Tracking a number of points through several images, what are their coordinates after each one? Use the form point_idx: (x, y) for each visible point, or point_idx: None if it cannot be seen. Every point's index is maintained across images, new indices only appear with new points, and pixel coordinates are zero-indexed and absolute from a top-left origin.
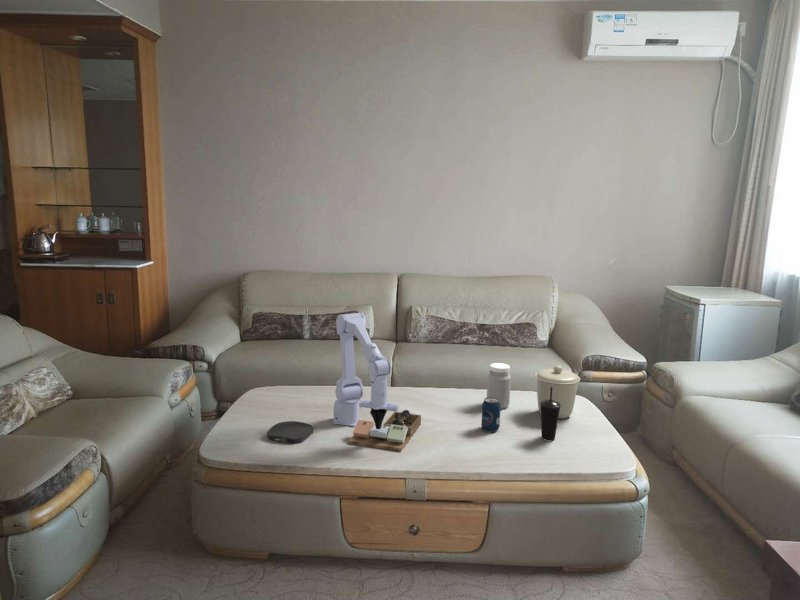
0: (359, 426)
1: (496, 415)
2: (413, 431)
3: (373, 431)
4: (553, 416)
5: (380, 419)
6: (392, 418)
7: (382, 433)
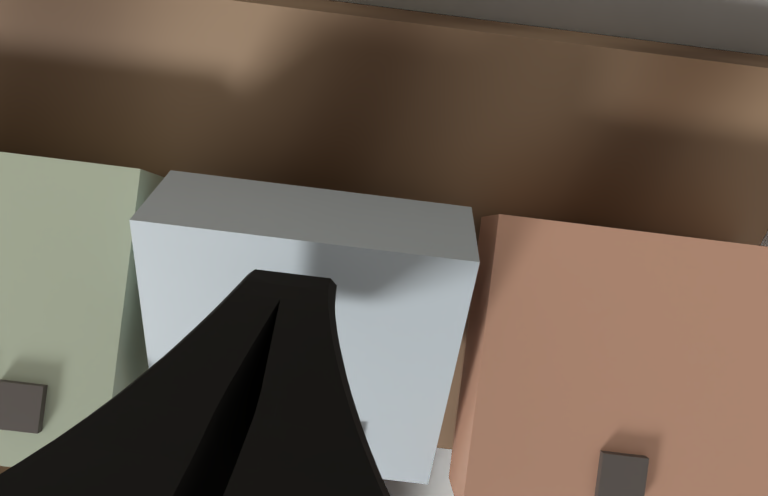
0: (708, 397)
1: None
2: None
3: (399, 249)
4: None
5: (75, 444)
6: None
7: (203, 216)
